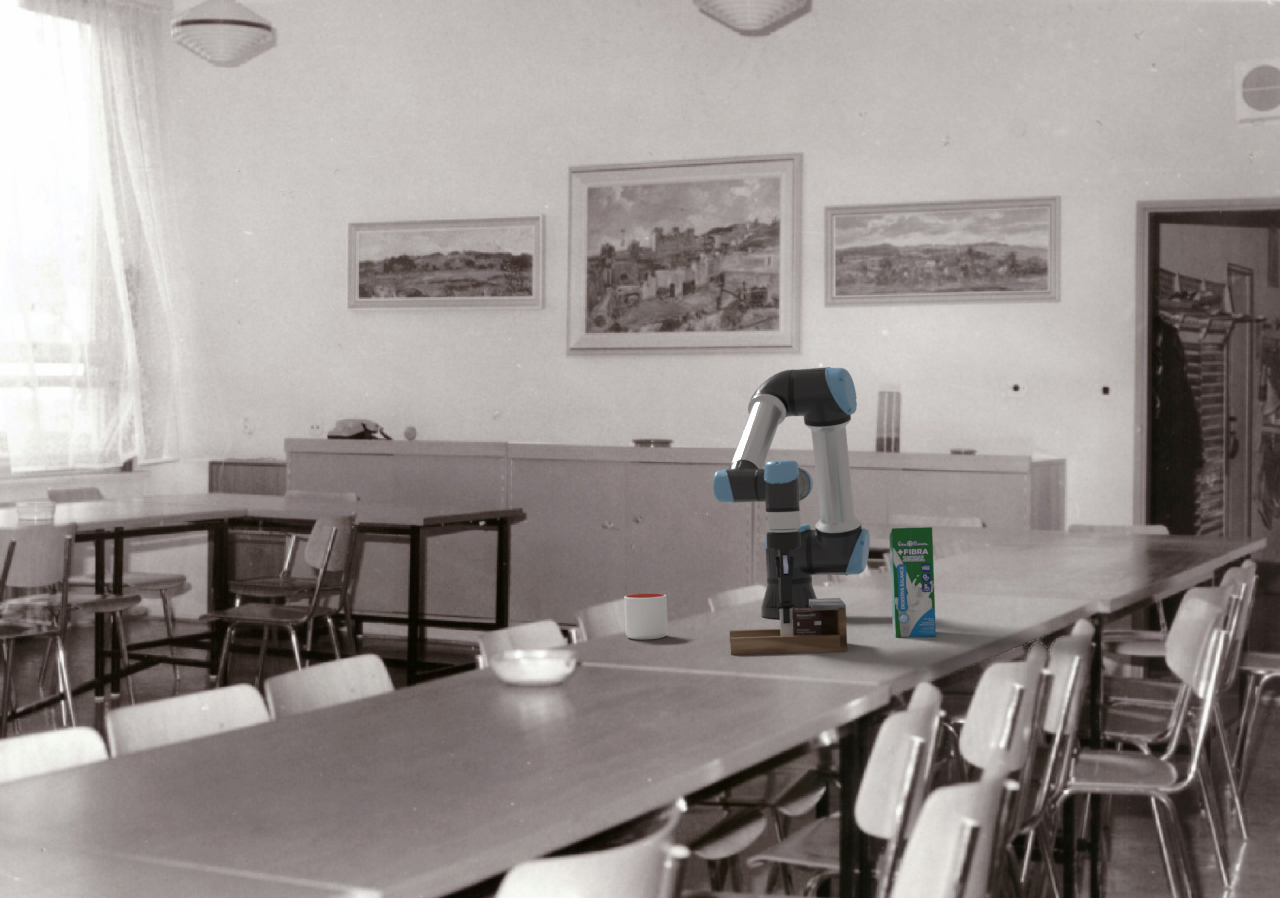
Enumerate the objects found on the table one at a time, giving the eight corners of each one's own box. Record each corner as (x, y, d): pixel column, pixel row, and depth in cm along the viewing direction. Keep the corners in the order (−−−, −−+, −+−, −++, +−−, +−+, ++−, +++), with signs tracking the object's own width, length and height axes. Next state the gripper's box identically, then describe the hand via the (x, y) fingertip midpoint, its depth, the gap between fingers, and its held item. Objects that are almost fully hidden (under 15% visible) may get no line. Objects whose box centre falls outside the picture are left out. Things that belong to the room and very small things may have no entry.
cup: (663, 640, 337) (662, 597, 337) (621, 640, 339) (620, 598, 339) (671, 634, 347) (669, 592, 347) (630, 634, 349) (629, 593, 349)
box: (794, 645, 315) (793, 611, 315) (792, 641, 321) (791, 608, 321) (822, 644, 315) (821, 611, 315) (820, 640, 321) (819, 607, 321)
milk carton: (931, 631, 336) (928, 524, 336) (936, 636, 328) (932, 526, 327) (892, 631, 337) (889, 525, 337) (895, 637, 328) (891, 527, 328)
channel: (730, 645, 325) (728, 601, 325) (841, 642, 324) (840, 597, 324) (731, 654, 312) (729, 608, 312) (847, 651, 311) (845, 604, 311)
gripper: (765, 529, 324) (768, 633, 325) (767, 533, 311) (770, 642, 312) (798, 528, 324) (802, 632, 324) (802, 532, 311) (805, 641, 311)
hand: (786, 637), depth 318 cm, fingers closed
